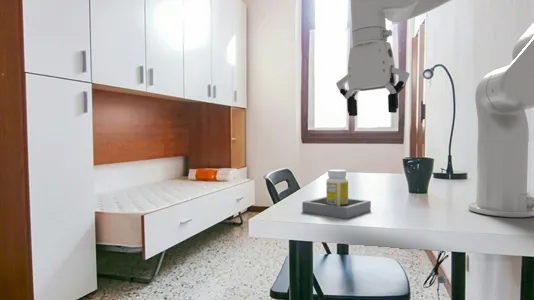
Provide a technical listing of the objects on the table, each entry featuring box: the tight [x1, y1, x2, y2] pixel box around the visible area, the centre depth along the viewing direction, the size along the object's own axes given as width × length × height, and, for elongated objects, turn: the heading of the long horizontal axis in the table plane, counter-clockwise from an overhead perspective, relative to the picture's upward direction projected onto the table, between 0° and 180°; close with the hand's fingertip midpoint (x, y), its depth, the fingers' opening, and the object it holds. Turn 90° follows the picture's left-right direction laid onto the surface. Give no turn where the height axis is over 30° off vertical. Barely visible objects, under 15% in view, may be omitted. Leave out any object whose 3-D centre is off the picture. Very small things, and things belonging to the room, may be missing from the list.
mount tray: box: [301, 196, 372, 220], centre depth 85 cm, size 11×11×2 cm
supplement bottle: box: [325, 169, 349, 207], centre depth 85 cm, size 5×5×8 cm
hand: (372, 114), depth 88 cm, fingers open, 9 cm apart
